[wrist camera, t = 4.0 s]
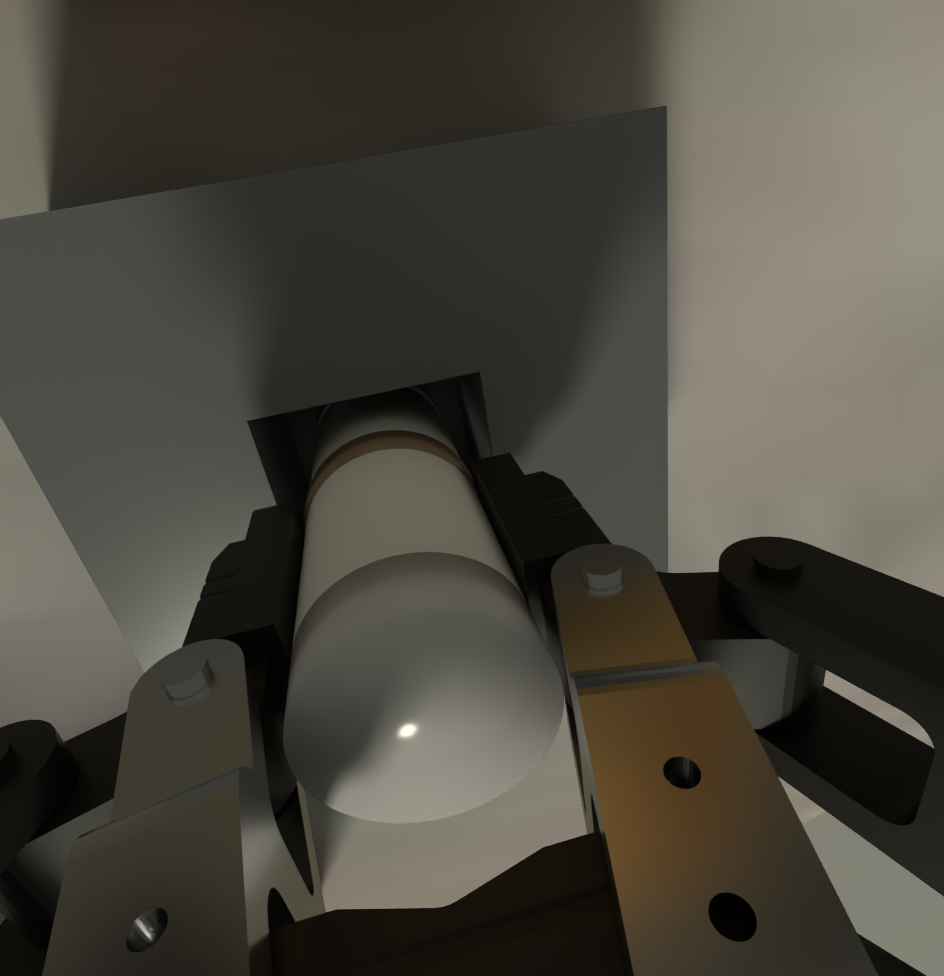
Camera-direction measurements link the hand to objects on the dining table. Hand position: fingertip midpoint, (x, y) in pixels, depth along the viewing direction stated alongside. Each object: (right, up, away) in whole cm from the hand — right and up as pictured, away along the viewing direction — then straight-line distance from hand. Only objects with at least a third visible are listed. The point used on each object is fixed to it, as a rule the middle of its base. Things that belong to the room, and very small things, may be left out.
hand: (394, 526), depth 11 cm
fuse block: (-1, +3, +5) cm, 6 cm away
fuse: (-1, +2, +4) cm, 5 cm away
